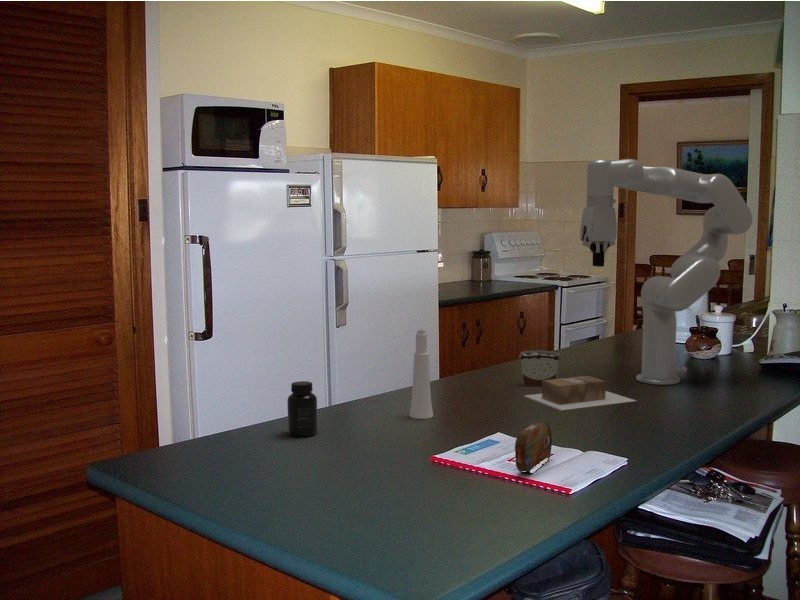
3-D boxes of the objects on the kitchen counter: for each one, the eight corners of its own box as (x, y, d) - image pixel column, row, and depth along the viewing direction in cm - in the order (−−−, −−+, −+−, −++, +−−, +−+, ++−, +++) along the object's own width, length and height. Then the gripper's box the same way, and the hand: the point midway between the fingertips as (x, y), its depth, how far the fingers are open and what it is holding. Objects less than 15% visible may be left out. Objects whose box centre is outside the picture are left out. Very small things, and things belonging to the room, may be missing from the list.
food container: (558, 383, 243) (559, 350, 242) (560, 388, 237) (561, 354, 236) (517, 382, 245) (517, 349, 243) (518, 387, 238) (518, 353, 237)
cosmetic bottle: (404, 416, 205) (404, 329, 203) (420, 411, 210) (420, 327, 207) (422, 420, 201) (422, 332, 199) (438, 415, 206) (438, 329, 203)
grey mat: (595, 388, 236) (595, 387, 236) (636, 402, 219) (637, 400, 219) (524, 396, 226) (524, 395, 226) (562, 411, 210) (562, 409, 210)
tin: (527, 479, 158) (527, 436, 157) (511, 476, 159) (512, 434, 158) (553, 458, 171) (553, 419, 170) (538, 456, 172) (539, 417, 171)
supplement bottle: (322, 431, 192) (321, 381, 191) (310, 438, 185) (309, 387, 184) (296, 428, 194) (295, 379, 193) (282, 436, 188) (281, 385, 186)
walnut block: (587, 375, 228) (542, 380, 222) (605, 380, 221) (559, 385, 215) (587, 393, 228) (542, 398, 222) (605, 399, 221) (559, 404, 215)
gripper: (612, 203, 242) (610, 264, 244) (570, 203, 236) (569, 266, 238) (629, 202, 236) (627, 266, 238) (586, 202, 230) (585, 267, 232)
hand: (598, 266), depth 238 cm, fingers closed
